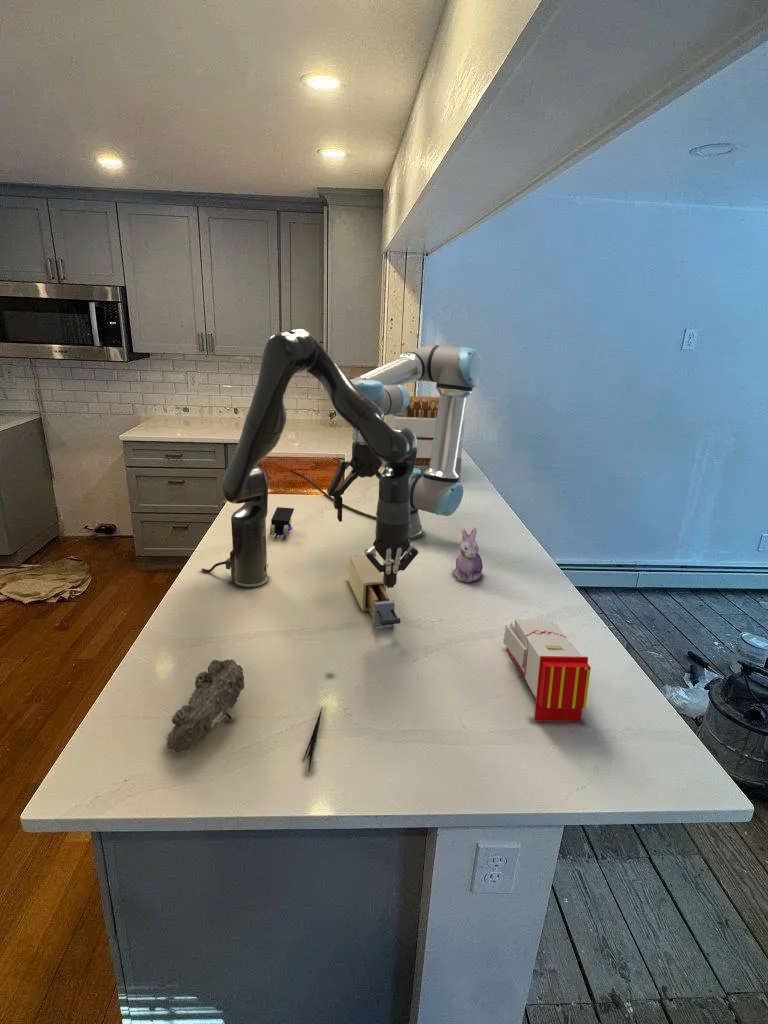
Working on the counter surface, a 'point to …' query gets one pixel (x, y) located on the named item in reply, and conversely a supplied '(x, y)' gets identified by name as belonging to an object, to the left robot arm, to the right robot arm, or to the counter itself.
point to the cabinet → (363, 577)
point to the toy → (549, 668)
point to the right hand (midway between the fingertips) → (364, 518)
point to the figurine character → (281, 522)
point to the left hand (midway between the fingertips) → (389, 586)
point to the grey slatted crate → (422, 427)
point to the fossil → (206, 705)
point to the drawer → (380, 606)
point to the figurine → (468, 558)
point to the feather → (313, 740)
